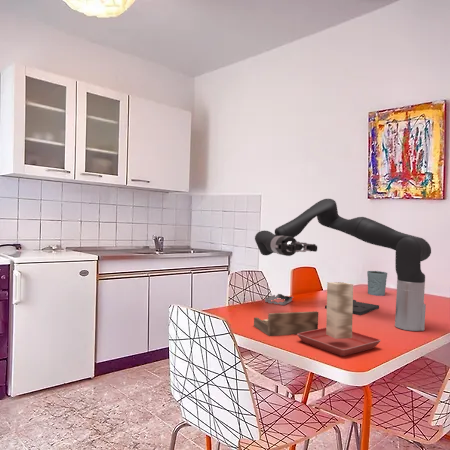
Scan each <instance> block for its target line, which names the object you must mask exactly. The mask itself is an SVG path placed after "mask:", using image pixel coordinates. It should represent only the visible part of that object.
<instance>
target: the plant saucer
mask: <svg viewBox="0 0 450 450" xmlns="http://www.w3.org/2000/svg"><path fill="white" fill-rule="evenodd" d="M296 335H297V336H298V337H299V339H300V340H301V341H302V343H305V344H307V345H309V344H310V346H313V347H316V348H318V349H321V350H323V351H327V352H329V353H332V354H334V355H337V356H340V357H347V356H350V355H353V354H357V353H361V352H365V351H368V350H373V349H374V348H375V347H376V346H377V345H378V344H379V343H380V342H382V341H381V339H379V338H376V337H373V336H369V335H367V334H362V333H360V332H356V331H353V330H352V338H342V339H335V338H333V337H331V336H328V335H326V327H322V328H318V329H316V330H311V331H306V332H302V333H298V334H296Z"/></svg>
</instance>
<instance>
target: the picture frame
mask: <svg viewBox="0 0 450 450" xmlns="http://www.w3.org/2000/svg"><path fill="white" fill-rule="evenodd" d="M324 309H326V310H327V304H326V305H324ZM378 309H380V305H379V304H378V305H377V304H374V303H367V302H361V301H357V300H356V299H353V315H356V316H363V315H365V314H368V313H370V312H371V313H372V312H373V311H376V310H378Z"/></svg>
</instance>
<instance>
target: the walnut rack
mask: <svg viewBox="0 0 450 450" xmlns="http://www.w3.org/2000/svg"><path fill="white" fill-rule="evenodd" d="M267 316H268V317H267V319H268V323H266V322H264V321H263V320H264V319H261V318H259V317H257V316H256V317H253V327H254V328H256V329H257V330H259V331H260V332H262V333H263V334H265V335H267V336H268V337H270V336H271V337H276V336H277V337H278V336H289V335H291V334H294V335H297V334H298V333H302V332H306V331H311V330H316V329H319V328H318V327H319V311H317V310H316V311H314V310H313V311H296V312H293V311H291V312H270V313H268V315H267Z"/></svg>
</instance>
